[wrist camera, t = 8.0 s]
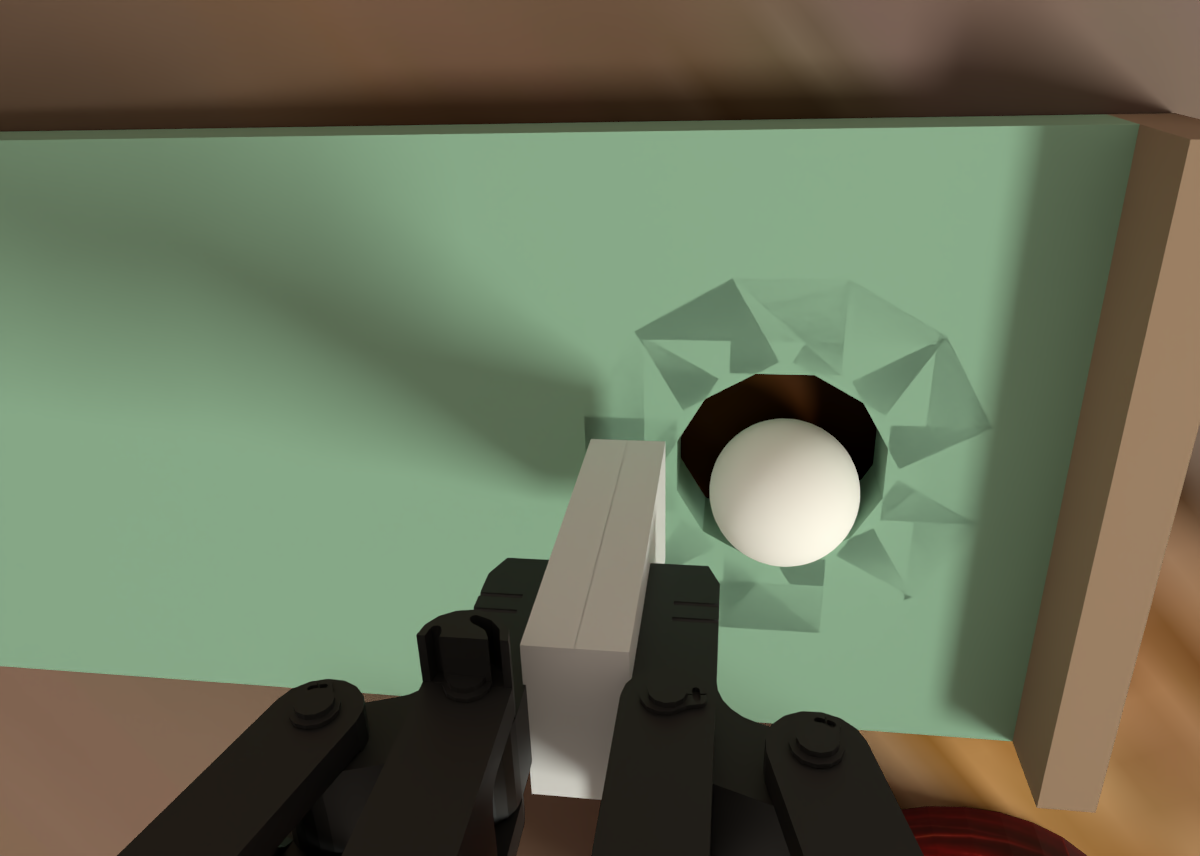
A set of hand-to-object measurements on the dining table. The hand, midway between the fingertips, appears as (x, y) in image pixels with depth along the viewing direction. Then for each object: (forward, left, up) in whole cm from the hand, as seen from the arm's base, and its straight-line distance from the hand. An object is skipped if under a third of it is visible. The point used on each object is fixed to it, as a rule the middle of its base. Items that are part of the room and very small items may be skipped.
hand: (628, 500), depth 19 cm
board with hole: (-4, 0, -3) cm, 5 cm away
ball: (+3, 0, -2) cm, 4 cm away
